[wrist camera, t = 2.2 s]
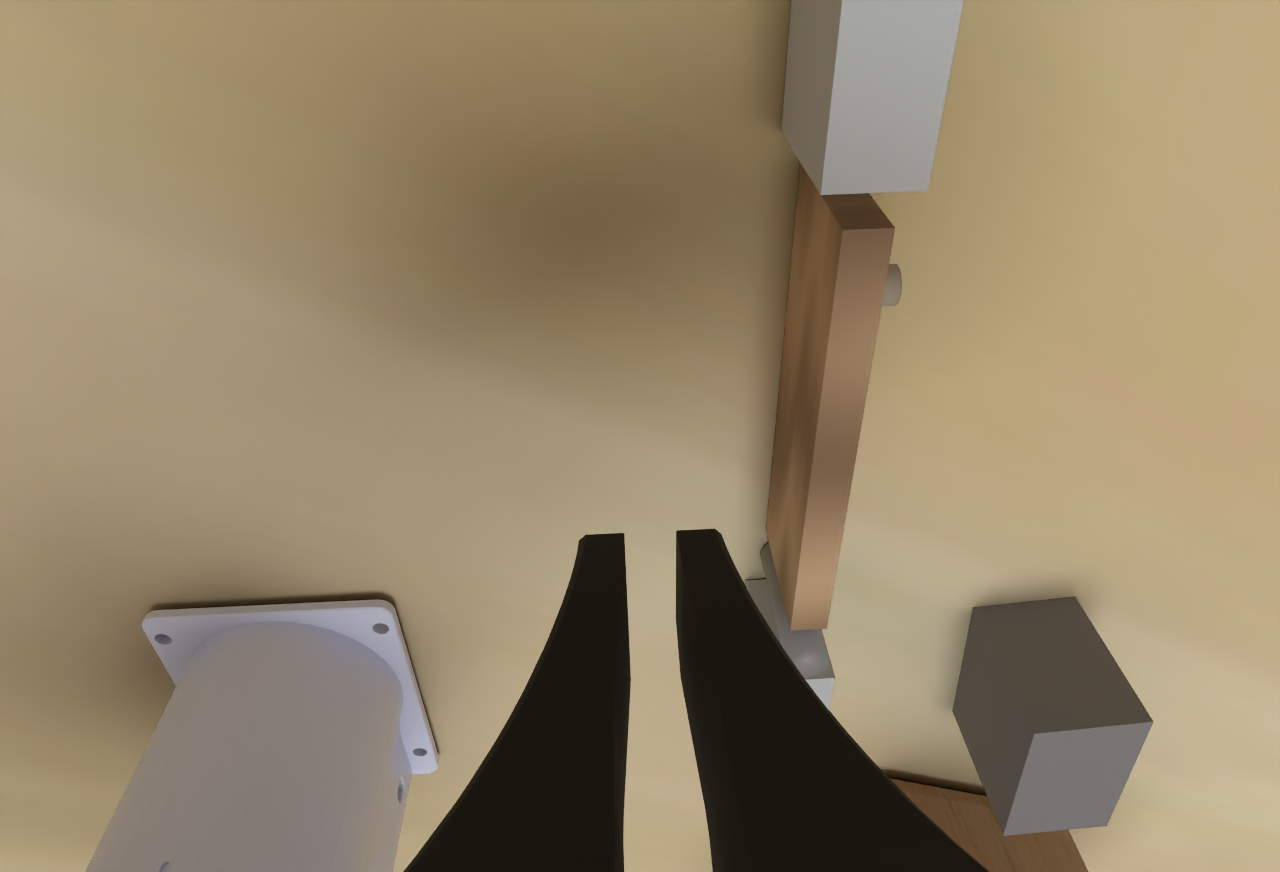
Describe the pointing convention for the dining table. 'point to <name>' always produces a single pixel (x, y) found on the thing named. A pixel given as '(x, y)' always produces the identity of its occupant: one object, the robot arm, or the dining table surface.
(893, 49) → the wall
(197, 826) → the robot arm
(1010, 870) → the wooden block
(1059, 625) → the grey rectangular block
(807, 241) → the door
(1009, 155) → the dining table surface
